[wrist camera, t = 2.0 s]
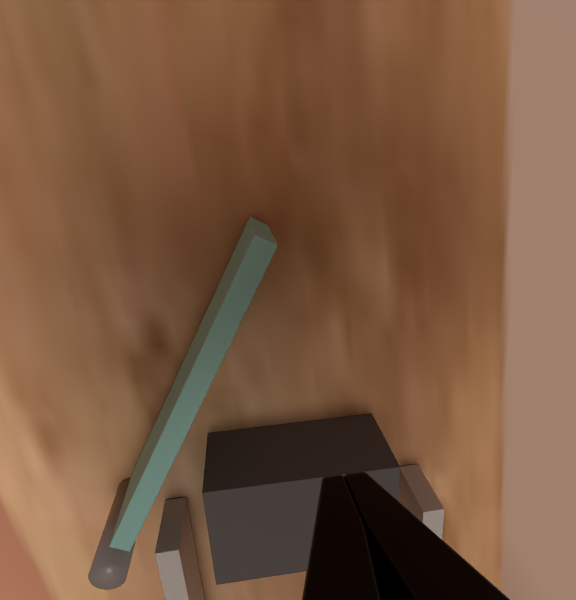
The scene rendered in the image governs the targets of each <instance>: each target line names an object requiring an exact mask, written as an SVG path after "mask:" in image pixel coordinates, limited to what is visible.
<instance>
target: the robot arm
mask: <svg viewBox="0 0 576 600" xmlns="http://www.w3.org/2000/svg"><path fill="white" fill-rule="evenodd" d="M302 600H510V599H509V598H507V597H506V596H505V595H504V594H503V593H502V592H501V591H500V590H498V589H497V588H496V587H495V586H494V585H493V584H492V583H491V582H489V581H488V580H487V579H486V578H485V577H484V576H483V575H481V574H480V573H479V572H478V571H477V570H476V569H475V568H474V567H472V566H471V565H470V564H469V563H468V562H467V561H466V560H464V559H463V558H462V557H461V556H460V555H459V554H458V553H457V552H455V551H454V550H453V549H452V548H451V547H450V546H449V545H448V544H446V543H445V542H444V541H443V540H442V539H441V538H440V537H438V536H437V535H436V534H435V533H434V532H433V531H432V530H431V529H429V528H428V527H427V526H426V525H425V524H424V523H423V522H421V521H420V520H419V519H418V518H417V517H416V516H415V515H414V514H412V513H411V512H410V511H409V510H408V509H407V508H406V507H404V506H403V505H402V504H401V503H400V502H399V501H398V500H397V499H395V498H394V497H393V496H392V495H391V494H390V493H389V492H387V491H386V490H385V489H384V488H383V487H382V486H381V485H380V484H378V483H377V482H376V481H375V480H374V479H373V478H372V477H371V476H369V475H368V474H367V473H365V472H362V471H361V472H354V473H347V474H345V475H344V477H343V476H342V475H333V476H326V477H323V479H322V482H321V488H320V494H319V500H318V506H317V512H316V518H315V525H314V531H313V537H312V543H311V549H310V555H309V561H308V567H307V573H306V579H305V585H304V591H303V597H302Z"/></svg>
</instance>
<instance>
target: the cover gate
mask: <svg viewBox="0 0 576 600" xmlns="http://www.w3.org/2000/svg"><path fill="white" fill-rule="evenodd" d="M277 247H278V245H277V242H276V240H275V238H274V236H273V234H272V232H271V230H270V228H269V226H268V225H267V224H265V223H263V222H260V221H258V220H256V219H254V218H252V217H249V219H248V221H247V223H246V226H245V228H244V230H243V232H242V234H241V237H240V239H239V241H238V243H237V245H236V247H235V250H234V252H233V254H232V256H231V258H230V261H229V263H228V265H227V267H226V269H225V271H224V274H223V276H222V278H221V280H220V282H219V285H218V287H217V289H216V291H215V293H214V295H213V298H212V300H211V302H210V304H209V306H208V309H207V311H206V313H205V315H204V317H203V319H202V322H201V324H200V326H199V328H198V330H197V333H196V335H195V337H194V339H193V341H192V344H191V346H190V348H189V350H188V352H187V354H186V357H185V359H184V361H183V363H182V365H181V368H180V370H179V372H178V374H177V376H176V378H175V381H174V383H173V385H172V387H171V389H170V392H169V394H168V396H167V398H166V400H165V402H164V405H163V407H162V409H161V411H160V413H159V416H158V418H157V420H156V422H155V424H154V426H153V429H152V431H151V433H150V435H149V437H148V440H147V442H146V444H145V446H144V448H143V450H142V453H141V455H140V457H139V459H138V461H137V464H136V466H135V468H134V470H133V472H132V475H131V478H130V482H129V485H128V488H127V491H126V494H125V498H124V501H123V504H122V507H121V510H120V514H119V517H118V520H117V523H116V526H115V530H114V533H113V536H112V539H111V542H110V546H109V547H112V548H116V549H120V550H124V551H128V552H130V550H131V548H132V546H133V544H134V542H135V540H136V538H137V536H138V534H139V532H140V530H141V528H142V525H143V523H144V521H145V519H146V517H147V515H148V513H149V511H150V509H151V507H152V505H153V503H154V501H155V499H156V497H157V494H158V492H159V490H160V488H161V486H162V484H163V482H164V480H165V478H166V476H167V474H168V472H169V470H170V468H171V466H172V464H173V461H174V459H175V457H176V455H177V453H178V451H179V449H180V447H181V445H182V443H183V441H184V439H185V437H186V435H187V433H188V431H189V428H190V426H191V424H192V422H193V420H194V418H195V416H196V414H197V412H198V410H199V408H200V406H201V404H202V402H203V400H204V398H205V395H206V393H207V391H208V389H209V387H210V385H211V383H212V381H213V379H214V377H215V375H216V373H217V371H218V369H219V367H220V364H221V362H222V360H223V358H224V356H225V354H226V352H227V350H228V348H229V346H230V344H231V342H232V340H233V338H234V336H235V334H236V331H237V329H238V327H239V325H240V323H241V321H242V319H243V317H244V315H245V313H246V311H247V309H248V307H249V305H250V303H251V301H252V298H253V296H254V294H255V292H256V290H257V288H258V286H259V284H260V282H261V280H262V278H263V276H264V274H265V272H266V270H267V267H268V265H269V263H270V261H271V259H272V257H273V255H274V253H275V251H276V249H277Z"/></svg>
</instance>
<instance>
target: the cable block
mask: <svg viewBox="0 0 576 600" xmlns="http://www.w3.org/2000/svg"><path fill="white" fill-rule="evenodd" d="M361 471H362V472H365V473H367V474H368V475H369V476H371V477H372V478H373V479H374V480H375V481H376V482H377V483H378V484H380V485H381V486H382V487H383V488H384V489H385V490H386V491H387V492H389V493H390V494H391V495H392V496H393V497H394V498H395V499H397V500H398V501H399V478H400V466H399V464H398V462H397V460H396V459H395V457H394V455H393V453H392V451H391V449H390V447H389V445H388V443H387V441H386V440H385V438H384V436H383V434H382V432H381V430H380V428H379V426H378V424H377V423H376V421H375V419H374V417H373V415H372V414H363V415H355V416H346V417H338V418H330V419H321V420H313V421H304V422H296V423H288V424H279V425H271V426H262V427H254V428H246V429H237V430H229V431H220V432H212V433H208V436H207V447H206V459H205V470H204V481H203V492H202V494H203V500H204V507H205V514H206V520H207V527H208V533H209V540H210V547H211V553H212V560H213V567H214V573H215V580H216V585H217V584H224V583H230V582H237V581H244V580H250V579H257V578H263V577H270V576H276V575H283V574H290V573H296V572H303V571H307V567H308V561H309V555H310V549H311V543H312V537H313V531H314V525H315V518H316V512H317V506H318V500H319V494H320V488H321V482H322V479H323V477H326V476H333V475H342V476H343V477H344V475H345V474H347V473H354V472H361Z"/></svg>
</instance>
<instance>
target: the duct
mask: <svg viewBox="0 0 576 600" xmlns="http://www.w3.org/2000/svg"><path fill="white" fill-rule="evenodd" d="M129 482H130V478H129V479H126V480H124V481H122V482H121V483H120V484H119V487H118V489H117V492H116V495H115V498H114V501H113V504H112V507H111V510H110V513H109V516H108V519H107V522H106V525H105V528H104V531H103V533H102V536H101V539H100V542H99V545H98V548H97V551H96V554H95V557H94V560H93V563H92V566H91V569H90V572H89V575H88V578H89V581H90V583H91V584H92V585H93V586H95V587H97V588H99V589H105V590H109V589H114V588H117V587H119V586H121V585H122V584H123V583H124V582H125V580H126V577H127V573H128V569H129V565H130V561H131V557H132V553H133V549H134V545H135V542H134V544H133V546H132V548H131V550H130V552H128V551H124V550H120V549H116V548H112V547H109V546H110V542H111V539H112V536H113V533H114V530H115V526H116V523H117V520H118V517H119V514H120V510H121V507H122V504H123V501H124V498H125V494H126V491H127V488H128V485H129ZM399 502H400V503H401V504H402V505H403V506H404V507H406V508H407V509H408V510H409V511H410V512H411V513H412V514H414V515H415V516H416V517H417V518H418V519H419V520H420V521H421V522H423V523H424V524H425V525H426V526H427V527H428V528H429V529H431V530H432V531H433V532H434V533H435V534H436V535H437V536H438V537H440V538H441V539H442V534H443V520H444V508H443V506H442V504H441V503H440V501H439V499H438V498H437V496H436V494H435V492H434V491H433V489H432V487H431V486H430V484H429V482H428V481H427V479H426V477H425V476H424V474H423V472H422V471H421V469H420V467H419V466H418V464H415V465H408V466H401V467H400V478H399ZM135 541H136V540H135ZM155 556H156V560H157V565H158V569H159V573H160V578H161V582H162V587H163V591H164V595H165V600H205V599H204V594H203V588H202V583H201V577H200V572H199V566H198V561H197V556H196V550H195V545H194V539H193V534H192V528H191V523H190V518H189V512H188V507H187V501H186V497H184V498H177V499H170V500H165V504H164V510H163V515H162V520H161V525H160V530H159V536H158V541H157V546H156V551H155Z"/></svg>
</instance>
